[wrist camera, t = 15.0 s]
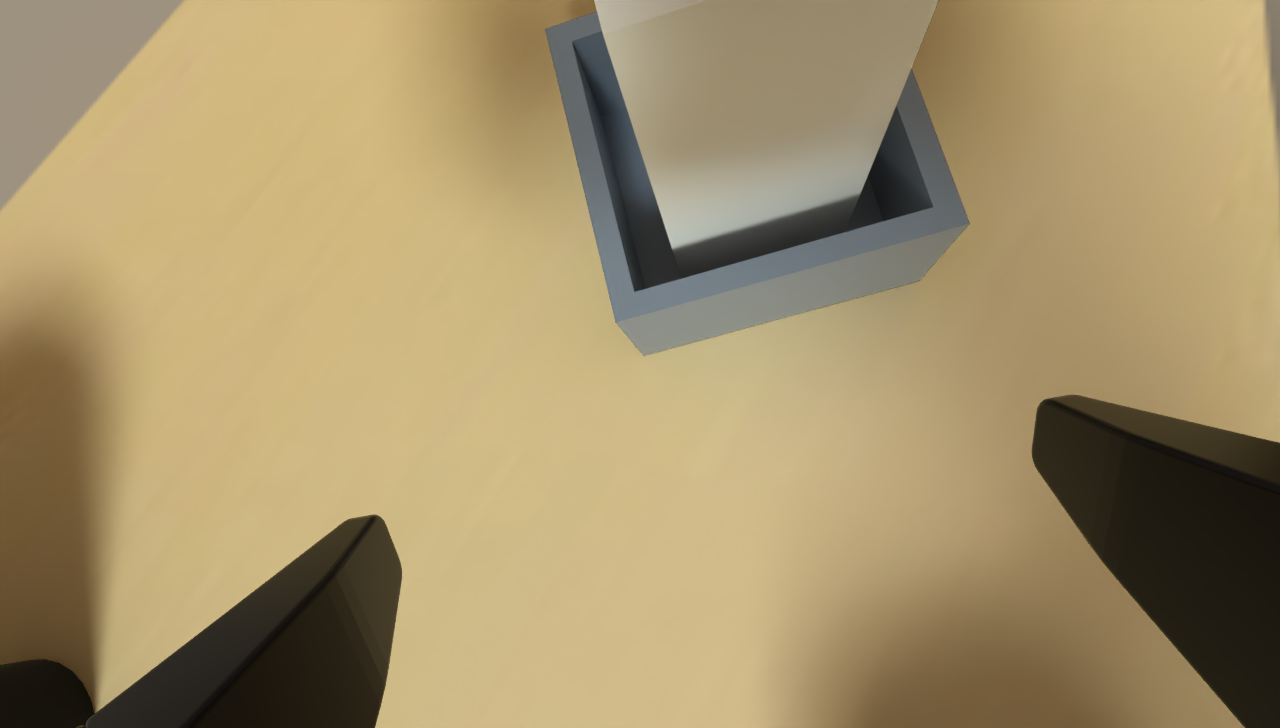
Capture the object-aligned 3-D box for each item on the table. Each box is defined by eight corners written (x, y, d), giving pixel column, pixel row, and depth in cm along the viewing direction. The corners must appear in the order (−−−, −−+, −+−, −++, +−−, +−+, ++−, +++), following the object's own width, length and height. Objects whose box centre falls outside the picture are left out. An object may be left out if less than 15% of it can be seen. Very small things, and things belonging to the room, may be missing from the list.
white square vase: (844, 233, 21) (974, -88, 9) (681, 279, 22) (603, 34, 10) (797, 88, 23) (857, -368, 10) (643, 135, 23) (530, -242, 11)
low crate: (919, 280, 22) (969, 223, 17) (643, 356, 23) (615, 322, 18) (834, 38, 23) (857, -77, 19) (585, 117, 25) (545, 28, 20)
